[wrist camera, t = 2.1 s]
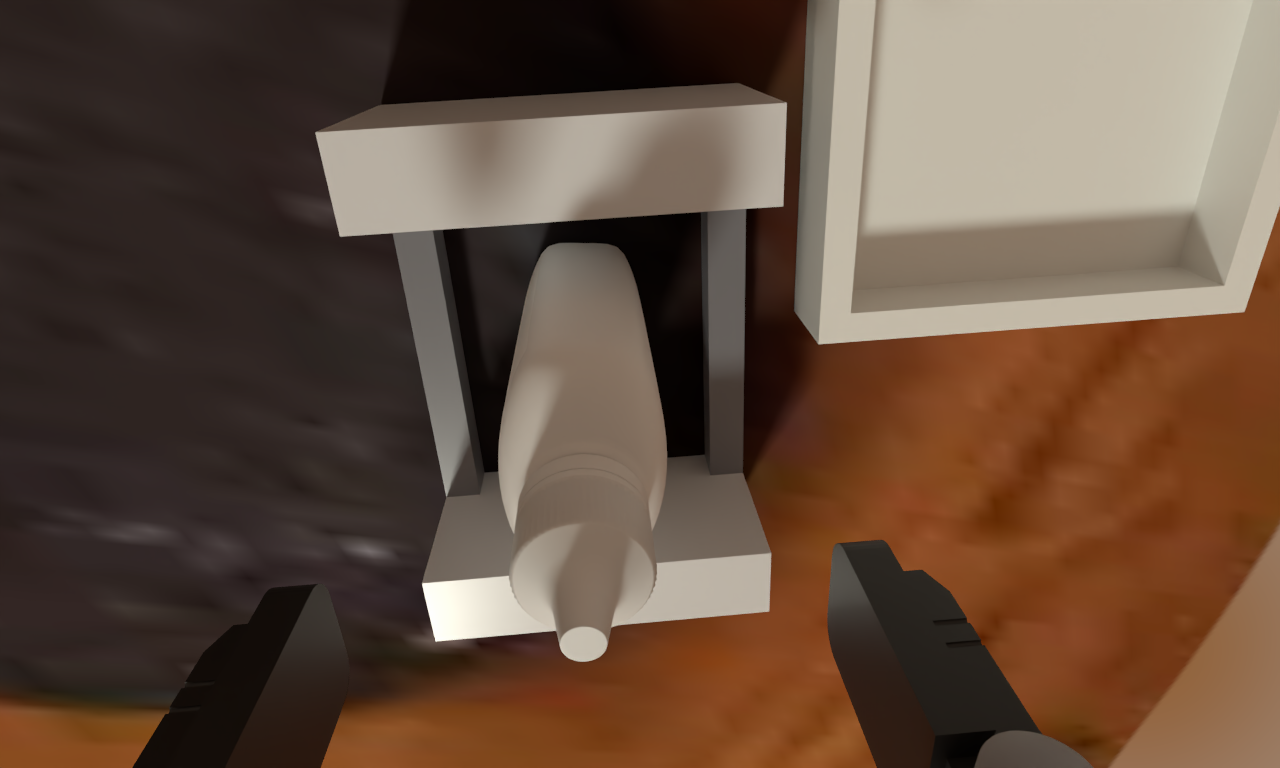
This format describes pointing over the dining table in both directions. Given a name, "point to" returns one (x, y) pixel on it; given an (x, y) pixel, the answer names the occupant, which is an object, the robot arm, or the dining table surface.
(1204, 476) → the dining table surface
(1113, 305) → the tray
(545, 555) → the eye dropper bottle
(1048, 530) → the dining table surface
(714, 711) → the dining table surface
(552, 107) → the holder
